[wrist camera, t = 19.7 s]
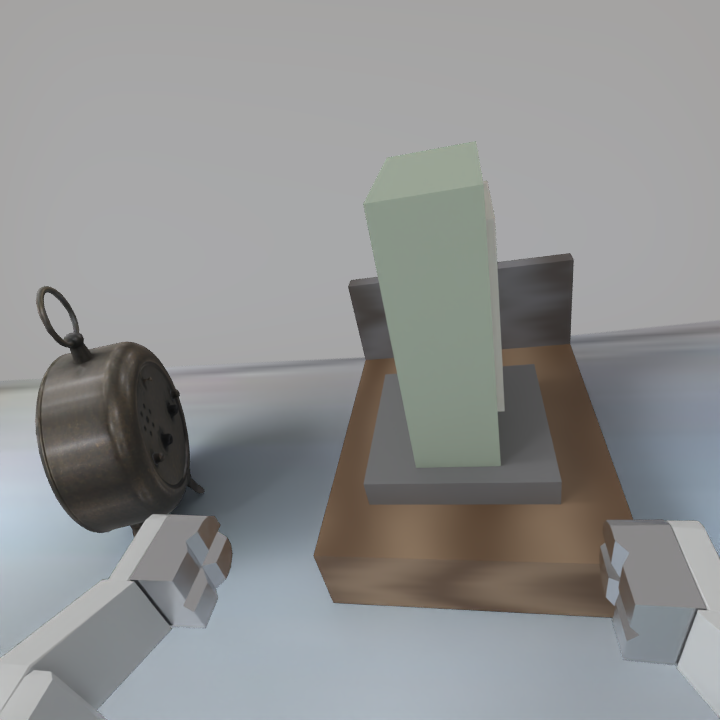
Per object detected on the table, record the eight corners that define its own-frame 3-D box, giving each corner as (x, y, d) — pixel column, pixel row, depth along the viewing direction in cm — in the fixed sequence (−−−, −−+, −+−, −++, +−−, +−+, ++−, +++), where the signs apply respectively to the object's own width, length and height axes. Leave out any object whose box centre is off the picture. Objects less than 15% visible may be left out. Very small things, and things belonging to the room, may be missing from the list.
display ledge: (333, 602, 24) (274, 466, 19) (377, 393, 38) (350, 280, 33) (638, 618, 21) (672, 456, 15) (565, 382, 34) (570, 253, 29)
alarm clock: (148, 458, 37) (29, 266, 28) (216, 438, 37) (118, 243, 29) (116, 584, 28) (-76, 358, 19) (206, 556, 28) (57, 322, 20)
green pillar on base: (369, 504, 24) (287, 224, 16) (389, 392, 31) (339, 162, 23) (560, 504, 22) (573, 179, 14) (534, 384, 29) (532, 125, 21)
